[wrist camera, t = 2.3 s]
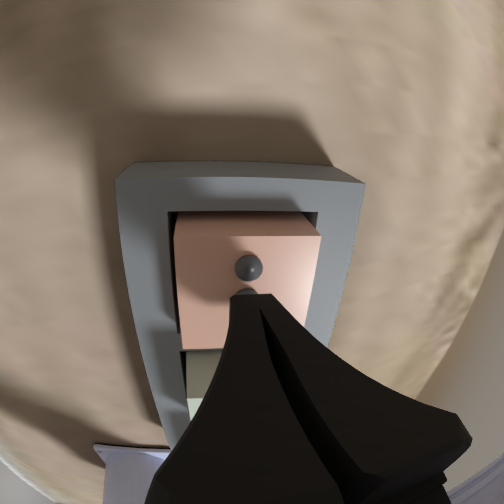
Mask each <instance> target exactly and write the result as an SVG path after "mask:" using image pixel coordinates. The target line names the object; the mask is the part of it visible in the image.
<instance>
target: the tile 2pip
mask: <svg viewBox="0 0 504 504" xmlns="http://www.w3.org/2000/svg"><path fill="white" fill-rule="evenodd" d="M221 354H222V350H211V351H186V381H187V402H188V408H189V414H190V420H192V418H193V417H194V415H195V413H196V411H197V410H198V408H199V406H200V404H201V402H202V400H203V398H204V396H205V394H206V392H207V389H208V387H209V385H210V383H211V381H212V378H213V376H214V373H215V371H216V368H217V366H218V363H219V360H220V357H221Z"/></svg>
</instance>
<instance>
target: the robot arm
mask: <svg viewBox="0 0 504 504" xmlns="http://www.w3.org/2000/svg"><path fill="white" fill-rule="evenodd" d="M471 442H472V437H471V436H470V434H469V432H468V431H467V429H466V428H465V426H464V425H463V423H462V421H461V420H460V418H459V417H458V415H457V414H455V413H452V412H448V411H445V410H442V409H439V408H436V407H433V406H429V405H427V404H424V403H421V402H419V401H416V400H414V399H411V398H409V397H407V396H404V395H402V394H400V393H398V392H396V391H394V390H392V389H390V388H388V387H386V386H384V385H382V384H380V383H379V382H377V381H375V380H373V379H371V378H370V377H368V376H366V375H365V374H363V373H361V372H360V371H358V370H357V369H355V368H354V367H352V366H351V365H349V364H348V363H347V362H345V361H344V360H342V359H341V358H339V357H338V356H337V355H335V354H334V353H333V352H332V351H330V350H329V349H328V348H327V347H326V346H324V345H323V344H322V343H321V342H320V341H318V340H317V339H316V338H315V337H314V336H313V335H312V334H311V333H310V332H309V331H308V330H307V329H306V328H304V327H303V326H302V325H301V324H300V323H299V322H298V321H297V320H296V319H295V318H294V317H293V316H292V315H291V314H290V312H289V311H288V310H287V309H286V308H285V307H284V306H283V305H282V304H281V303H280V302H279V301H278V300H277V299H276V298H275V297H274V296H273V295H272V294H271V293H270V294H247V295H233V296H232V297H230V301H229V327H228V332H227V336H226V341H225V344H224V347H223V350H222V354H221V357H220V360H219V363H218V366H217V368H216V371H215V373H214V376H213V378H212V381H211V383H210V385H209V387H208V389H207V392H206V394H205V396H204V398H203V400H202V402H201V404H200V406H199V408H198V410H197V411H196V413H195V415H194V417H193V418H192V420H191V422H190V423H189V425H188V427H187V428H186V430H185V432H184V433H183V435H182V436H181V438H180V440H179V441H178V443H177V444H176V446H175V447H174V448H173V450H172V451H171V449H145V448H130V447H118V446H108V445H99V444H94V445H93V449H94V450H95V451H96V453H97V454H98V455H99V456H100V458H101V459H102V460H103V461H104V463H105V464H106V468H105V479H104V493H103V504H504V453H503V454H502V455H500V456H499V457H498V458H497V459H495V460H494V461H493V462H491V463H490V464H489V465H487V466H486V467H485V468H483V469H482V470H480V471H479V472H478V473H476V474H475V475H473V476H472V477H470V478H469V479H467V480H466V481H464V482H463V483H461V484H460V485H458V486H456V487H455V488H453V489H451V490H450V491H448V492H446V491H445V489H444V487H443V485H442V484H444V483H445V482H446V481H447V478H446V477H445V474H444V472H443V471H444V470H445V469H446V468H448V467H449V466H450V465H451V464H452V463H453V462H455V461H456V460H457V459H458V458H459V457H460V456H461V455H462V454H463V453H464V452H465V451H466V450H467V449H468V448H469V447H470V445H471Z"/></svg>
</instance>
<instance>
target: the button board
mask: <svg viewBox="0 0 504 504" xmlns="http://www.w3.org/2000/svg"><path fill="white" fill-rule="evenodd" d="M364 190H365V183H363V182H361V181H360V180H358V179H356V178H354V177H353V176H351V175H349V174H347V173H345V172H343V171H342V170H340V169H338V168H336V167H332V166H320V165H307V164H292V163H273V162H247V161H166V162H140V163H132V164H131V165H130V166H129V167H128V168H127V169H125V170H124V171H123V172H122V173H121V174H120V175H119V176H118V177H117V178H116V179H115V192H116V204H117V214H118V224H119V232H120V241H121V248H122V255H123V262H124V269H125V275H126V281H127V287H128V293H129V298H130V303H131V308H132V313H133V318H134V323H135V328H136V332H137V337H138V341H139V345H140V349H141V354H142V358H143V362H144V365H145V369H146V373H147V377H148V380H149V384H150V388H151V391H152V394H153V398H154V401H155V404H156V408H157V411H158V414H159V417H160V420H161V423H162V426H163V429H164V432H165V435H166V438H167V441H168V444H169V447H170V449H171V451H172V450H173V448H174V447H175V446H176V444H177V443H178V441H179V440H180V438H181V436H182V435H183V433H184V432H185V430H186V428H187V427H188V425H189V423H190V422H191V420H190V414H189V408H188V402H187V381H186V357H185V351H211V350H223V348H211V349H183V345H182V336H181V327H180V317H179V307H178V295H177V283H176V269H175V253H174V232H175V211H300V212H301V213H302V214H303V215H304V216H305V217H306V219H307V220H308V221H309V222H310V223H311V224H312V225H313V227H314V228H315V229H316V230H317V231H318V232H319V234H320V235H321V242H320V248H319V253H318V259H317V265H316V270H315V275H314V281H313V286H312V291H311V296H310V301H309V306H308V311H307V316H306V320H305V325H304V328H306V329H307V330H308V331H309V332H310V333H311V334H312V335H313V336H314V337H315V338H316V339H317V340H318V341H320V342H321V343H322V344H323V345H324V346H326V347H328V343H329V340H330V337H331V333H332V330H333V326H334V323H335V319H336V315H337V312H338V308H339V304H340V301H341V297H342V293H343V289H344V285H345V281H346V277H347V273H348V269H349V264H350V260H351V256H352V251H353V247H354V242H355V237H356V232H357V227H358V223H359V217H360V212H361V207H362V201H363V196H364Z"/></svg>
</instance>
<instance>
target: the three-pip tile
mask: <svg viewBox="0 0 504 504" xmlns="http://www.w3.org/2000/svg"><path fill="white" fill-rule="evenodd" d="M320 242H321V235H320V234H319V232H318V231H317V230H316V229H315V228H314V227H313V225H312V224H311V223H310V222H309V221H308V220H307V219H306V217H305V216H304V215H303V214H302V213H301V212H300V211H178V215H177V221H176V226H175V232H174V253H175V269H176V283H177V295H178V307H179V317H180V327H181V336H182V345H183V349H211V348H223V347H224V344H225V341H226V336H227V332H228V327H229V301H230V297H232V296H233V295H247V294H270V293H271V294H272V295H273V296H274V297H275V298H276V299H277V300H278V301H279V302H280V303H281V304H282V305H283V306H284V307H285V308H286V309H287V310H288V311H289V312H290V314H291V315H292V316H293V317H294V318H295V319H296V320H297V321H298V322H299V323H300V324H301V325H302V326H303V327H304V325H305V320H306V316H307V311H308V306H309V301H310V296H311V291H312V286H313V281H314V275H315V270H316V265H317V259H318V253H319V248H320Z"/></svg>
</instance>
